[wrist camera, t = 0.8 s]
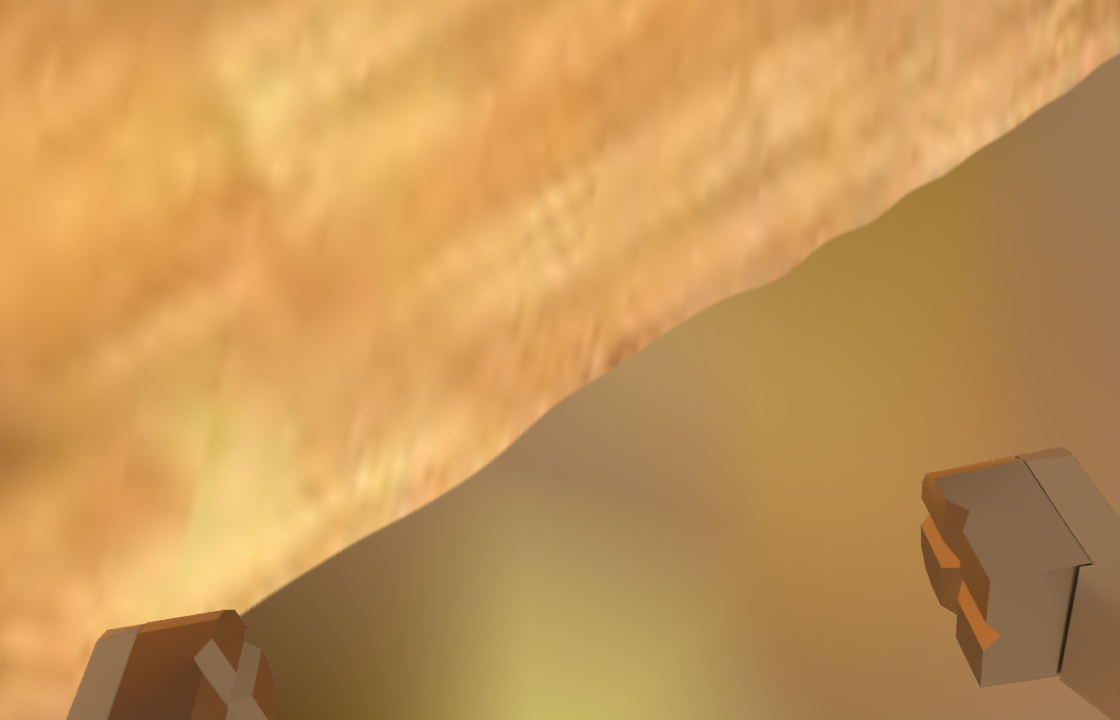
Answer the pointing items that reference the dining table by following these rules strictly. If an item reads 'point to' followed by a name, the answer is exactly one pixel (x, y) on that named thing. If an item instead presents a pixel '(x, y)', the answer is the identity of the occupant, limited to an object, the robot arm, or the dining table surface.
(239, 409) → the dining table surface
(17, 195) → the dining table surface
